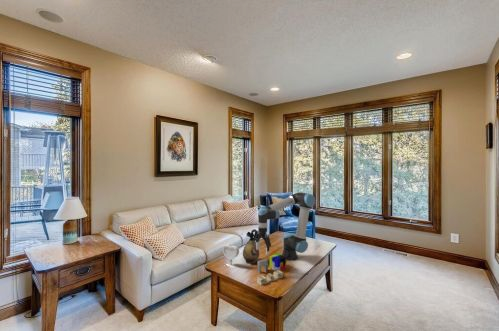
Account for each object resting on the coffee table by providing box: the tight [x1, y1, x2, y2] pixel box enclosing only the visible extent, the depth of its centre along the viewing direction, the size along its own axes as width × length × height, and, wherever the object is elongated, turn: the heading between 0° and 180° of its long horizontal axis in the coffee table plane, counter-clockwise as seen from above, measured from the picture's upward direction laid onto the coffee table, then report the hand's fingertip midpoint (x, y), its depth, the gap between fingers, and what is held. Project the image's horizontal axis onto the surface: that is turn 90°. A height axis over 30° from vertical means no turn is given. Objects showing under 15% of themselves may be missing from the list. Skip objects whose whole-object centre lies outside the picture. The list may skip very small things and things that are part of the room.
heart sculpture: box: [222, 244, 240, 269], centre depth 212 cm, size 16×5×18 cm, turn 59°
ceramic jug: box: [242, 228, 260, 264], centre depth 221 cm, size 17×15×30 cm
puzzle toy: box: [269, 253, 287, 272], centre depth 207 cm, size 10×10×10 cm
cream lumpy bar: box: [256, 270, 284, 286], centre depth 186 cm, size 22×5×4 cm, turn 124°
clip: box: [256, 258, 269, 274], centre depth 201 cm, size 9×3×10 cm, turn 124°
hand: (262, 252), depth 200 cm, fingers open, 13 cm apart
